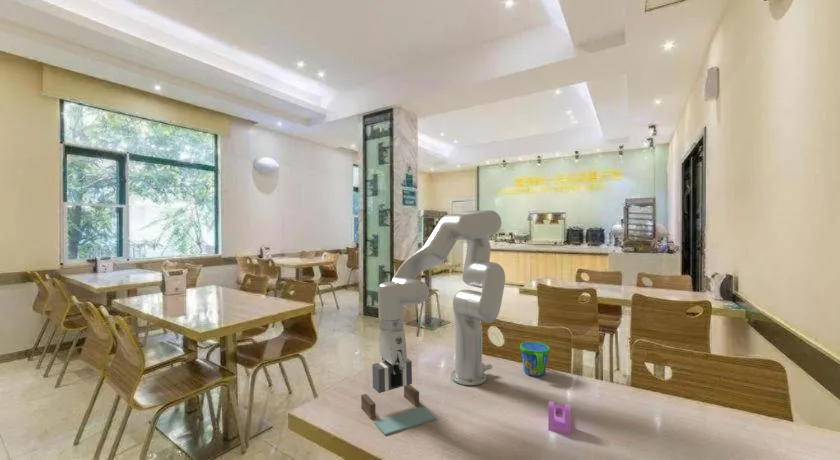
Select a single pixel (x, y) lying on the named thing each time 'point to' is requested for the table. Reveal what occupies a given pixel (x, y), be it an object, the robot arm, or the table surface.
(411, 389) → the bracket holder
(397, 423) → the rubber mat
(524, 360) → the snack cup
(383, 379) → the banded grey block
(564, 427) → the bracket
